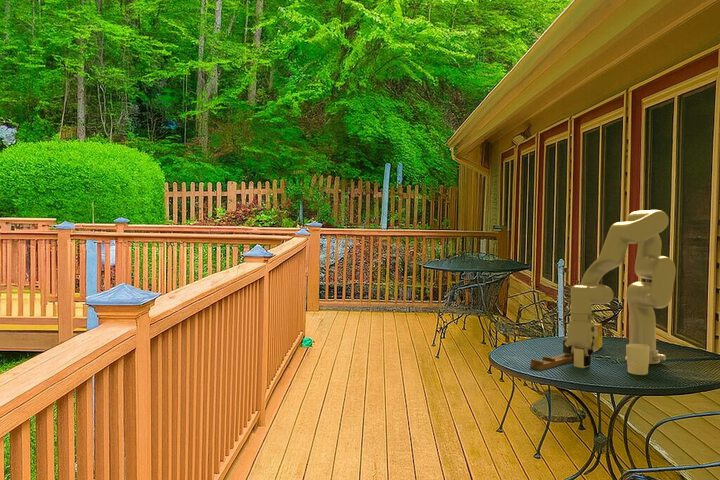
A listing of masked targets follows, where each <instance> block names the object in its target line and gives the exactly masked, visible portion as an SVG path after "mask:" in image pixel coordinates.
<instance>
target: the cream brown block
mask: <svg viewBox="0 0 720 480" xmlns="http://www.w3.org/2000/svg"><path fill="white" fill-rule="evenodd" d="M584 356H585V350H584V348H582V347H577V348H574V364H573V367H575V368H580V369H585V368H589V367H590V365H591V364H592V362H591V363H590V365H589V366H584Z"/></svg>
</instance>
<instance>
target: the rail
mask: <svg viewBox="0 0 720 480" xmlns="http://www.w3.org/2000/svg"><path fill="white" fill-rule="evenodd" d="M566 340H567V336H565V337H564V339H563V340H562V349H563V350H562V352H563V353H564V354H559V355H556V356H551V357H549V356H546V355H543V356H542V359H539V360H538V359H533V358H532V359H530V369H535V370H539V371H543V370H548V369H551V368H554V367H559V366H562V365H565V364H569V363H573V360H572V353H571V351H570V350H569V348H568V347H567V346H566V345H565V344H564V343H565V342H566Z"/></svg>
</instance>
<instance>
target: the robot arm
mask: <svg viewBox="0 0 720 480" xmlns="http://www.w3.org/2000/svg"><path fill="white" fill-rule="evenodd" d="M669 221H670V220H669V216H668V215H667V213H666V212H665V211H663V210H659V209H650V210H647V209H646V210H636V211H632V212H631V213H629V214H628V217H627V221H618V222H615V223H613V224H612V225H611V226H610V227H609V230H608V231H607V233H606V234H607V235H606V237H605V240H604V244H603V246H602V249H601V251H600V254H599V256H598V257H597V258H596V259H595V261H593V262H592V263H591V264H590V266H589V267H588V268H587V269H586V271H585V272H584V273H583V276H582V278H581V281H580V284H578V285H577V284H576V285H573V286H571V287H570V319H569V321H568V325H567V333H566V334H567V336H566V337H567V340H566V342H565V343H564V344H565V345H566V346H567V347H568V348H569V350H570V351H571V353H572V360H573V362H572V364H573V365H574V348H577V347H582V348H584V350H585V356H584V366H589V367H590V366H591V364H592V362H591V361H592V360H591V359H592V357H591V356H592V355H593V354H594V353H595V352H596V351H600V350H599V347H598V346H597V341H596V330H595V325H594V323H595V322H594V321H593V320H595V315H593V313H592V311H593V309H592V304H594V305H595V304H597V305H606V304H610V302H612V301H613V299H614V297H615V296H614V291H613V290H612V288H611V287H610V286H608V285H606V284H605V285H604V284H599V282H600V281H601V279H602V277H604V275H606V274H607V273H608V272H609V271H612V270H614V269H616V268H617V267H620V266H621V265H622V264H623V261H624V258H625V255H626V252H627V250H628V247H629V245H630V244H631V245H632V244H633V245H637V251H636V256H635V263H634V273H635V275H636V276H637V277H638V278H640V279H644V280H645V279H646V280H651V282H648V281H646V282H645V281H635V282H631V284H629V285H628V287H627V289H626V293H625V294H626V301H627V305H628V312H629V313H628V315H629V316H628V319H629V320H628V327H629V330H628V337H629V339H628V340H629V342H628V344H643V345H648V346H649V347H650V350H649V365H655V364H657V365H658V364H659V363H661V361H666V359H667V357H666V354H660V353H659V350H657V346H656V345H657V340H656V338H657V337H656V335H657V333H656V332H657V331H656V329H657V328H656V325H657V324H656V323H657V321H656V320H657V319H656V313H655V310H654V309H664V308H667V307H668V305H669V304H670V303H671V300H672V297H673V291H674V285H675V281H676V271H677V270H676V264H675V263H674V261H673V260H672V258H670V257H669V256H664V255H662V247H663V245H662V243H663V242H662V239H661V237H660V233H663V231H664V230H666V229H667V227H668V225H669V223H670V222H669ZM591 347H593V349H591ZM624 359H625V361H626V362H627V356H626V355H625V356H624ZM590 363H591V364H590Z"/></svg>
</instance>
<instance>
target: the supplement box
mask: <svg viewBox="0 0 720 480" xmlns="http://www.w3.org/2000/svg"><path fill="white" fill-rule="evenodd" d="M602 324H603V323H597V322H596V323H595V322H594V325H595V330H596V341H597V346H598V347H599V350H598V351H600V350H601V349H602V348H603V325H602ZM591 349H593V347H591Z"/></svg>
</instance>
